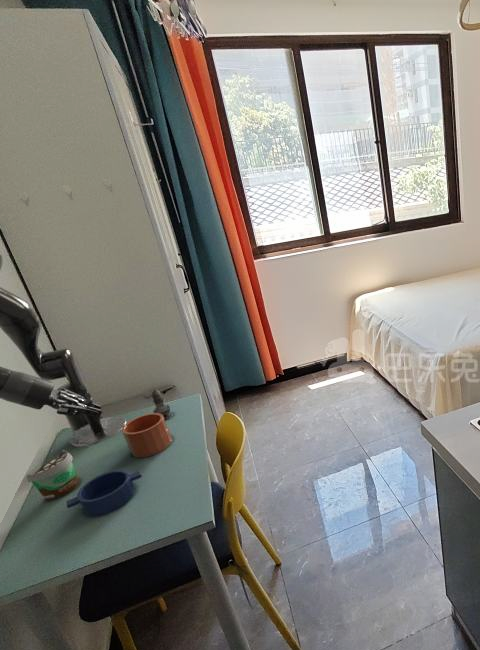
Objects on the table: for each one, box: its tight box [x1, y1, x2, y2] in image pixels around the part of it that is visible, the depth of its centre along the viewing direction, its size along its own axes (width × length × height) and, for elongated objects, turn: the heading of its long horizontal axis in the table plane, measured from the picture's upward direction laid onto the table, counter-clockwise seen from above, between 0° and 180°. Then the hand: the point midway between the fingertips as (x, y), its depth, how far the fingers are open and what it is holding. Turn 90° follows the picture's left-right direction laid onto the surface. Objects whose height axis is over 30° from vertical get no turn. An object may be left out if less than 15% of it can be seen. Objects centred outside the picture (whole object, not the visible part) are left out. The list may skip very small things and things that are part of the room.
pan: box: [66, 470, 142, 517], centre depth 124 cm, size 13×18×5 cm
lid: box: [69, 400, 127, 447], centre depth 122 cm, size 14×14×10 cm
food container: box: [26, 449, 80, 501], centre depth 129 cm, size 12×6×10 cm, turn 168°
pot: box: [121, 412, 173, 458], centre depth 146 cm, size 12×12×9 cm
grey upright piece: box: [151, 388, 174, 421], centre depth 162 cm, size 6×6×12 cm
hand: (99, 411), depth 122 cm, fingers closed on lid, 3 cm apart
